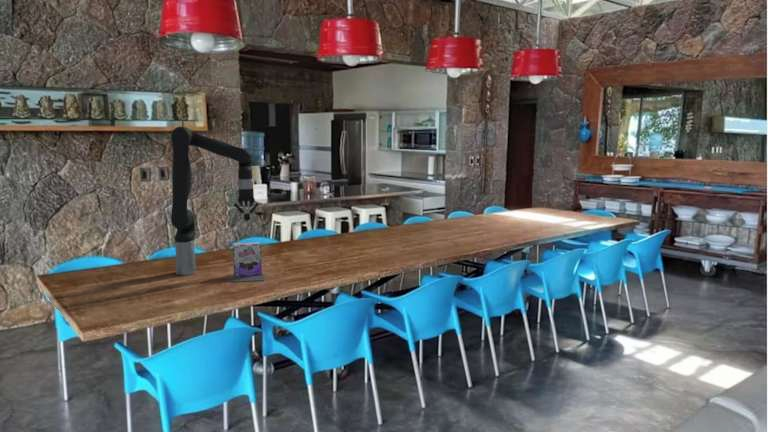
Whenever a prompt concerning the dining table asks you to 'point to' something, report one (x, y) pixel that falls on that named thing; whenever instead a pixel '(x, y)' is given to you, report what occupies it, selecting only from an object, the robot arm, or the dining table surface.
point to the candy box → (247, 259)
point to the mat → (246, 278)
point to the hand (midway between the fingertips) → (247, 220)
